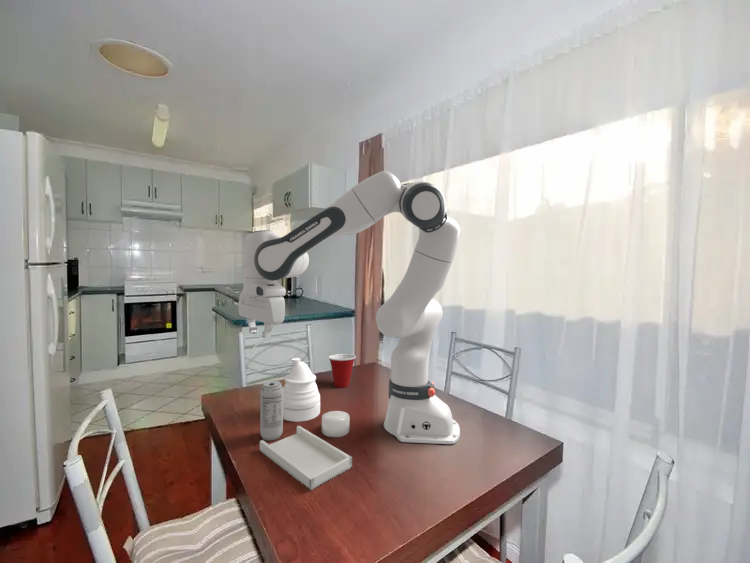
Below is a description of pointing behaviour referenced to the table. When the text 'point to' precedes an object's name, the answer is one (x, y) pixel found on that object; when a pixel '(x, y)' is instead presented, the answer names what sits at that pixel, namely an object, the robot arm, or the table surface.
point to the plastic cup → (342, 369)
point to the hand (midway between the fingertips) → (259, 335)
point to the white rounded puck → (335, 423)
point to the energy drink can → (271, 410)
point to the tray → (307, 458)
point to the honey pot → (300, 394)
